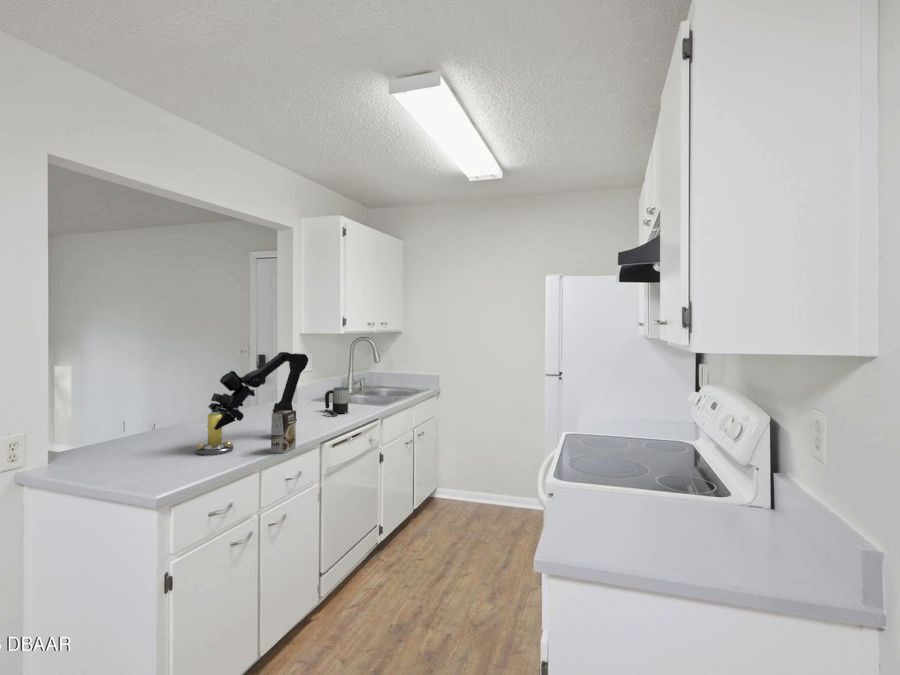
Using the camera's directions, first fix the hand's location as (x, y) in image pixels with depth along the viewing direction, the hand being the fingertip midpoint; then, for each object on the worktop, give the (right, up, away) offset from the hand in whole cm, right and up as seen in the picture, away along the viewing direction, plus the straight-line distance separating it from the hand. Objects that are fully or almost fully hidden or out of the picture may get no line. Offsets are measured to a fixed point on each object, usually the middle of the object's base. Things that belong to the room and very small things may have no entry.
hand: (211, 428), depth 193 cm
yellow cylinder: (+1, -7, +1) cm, 7 cm away
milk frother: (+31, -8, +84) cm, 90 cm away
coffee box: (+28, -10, +4) cm, 30 cm away
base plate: (+1, -9, +1) cm, 10 cm away
